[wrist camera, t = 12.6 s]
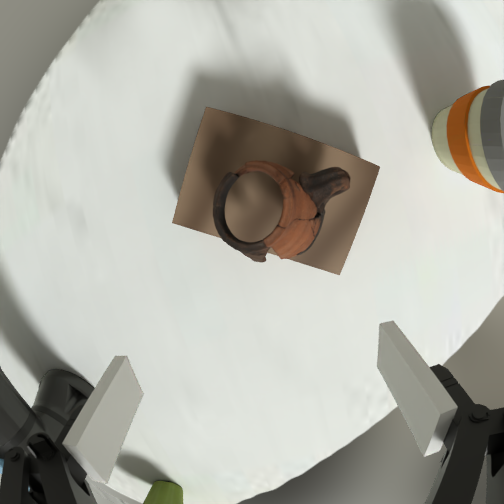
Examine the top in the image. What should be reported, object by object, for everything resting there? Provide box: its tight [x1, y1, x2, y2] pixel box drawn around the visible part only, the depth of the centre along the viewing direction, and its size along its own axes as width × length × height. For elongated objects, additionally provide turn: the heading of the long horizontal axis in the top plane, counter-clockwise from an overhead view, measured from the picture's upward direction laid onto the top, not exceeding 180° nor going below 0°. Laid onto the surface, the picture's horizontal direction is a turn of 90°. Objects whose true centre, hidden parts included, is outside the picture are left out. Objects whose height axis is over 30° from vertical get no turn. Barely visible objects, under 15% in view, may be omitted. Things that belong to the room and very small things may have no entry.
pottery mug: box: [213, 160, 351, 262], centre depth 27 cm, size 12×10×8 cm
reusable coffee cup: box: [432, 80, 504, 193], centre depth 24 cm, size 13×13×15 cm
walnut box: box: [172, 107, 380, 275], centre depth 32 cm, size 18×12×6 cm, turn 72°
